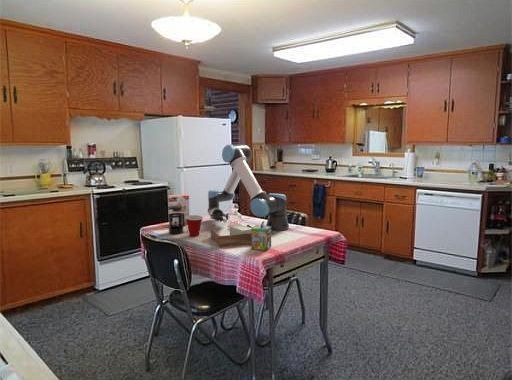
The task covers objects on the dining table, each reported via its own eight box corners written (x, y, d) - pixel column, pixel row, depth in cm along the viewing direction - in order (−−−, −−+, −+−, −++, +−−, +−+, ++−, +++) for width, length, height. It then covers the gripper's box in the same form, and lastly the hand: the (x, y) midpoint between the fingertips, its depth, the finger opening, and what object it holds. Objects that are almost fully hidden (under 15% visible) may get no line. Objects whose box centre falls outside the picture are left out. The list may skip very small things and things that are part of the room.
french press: (173, 235, 227) (172, 199, 224) (164, 233, 233) (163, 197, 230) (188, 231, 236) (187, 196, 232) (179, 229, 242) (178, 195, 238)
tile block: (229, 239, 218) (229, 226, 217) (239, 237, 222) (239, 224, 221) (243, 244, 207) (243, 230, 206) (253, 242, 211) (253, 228, 210)
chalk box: (255, 244, 205) (255, 219, 203) (271, 246, 202) (271, 219, 200) (250, 249, 196) (250, 222, 194) (267, 251, 193) (267, 223, 191)
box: (210, 237, 221) (210, 227, 220) (248, 233, 229) (248, 224, 228) (219, 247, 201) (219, 236, 200) (260, 242, 209) (260, 232, 208)
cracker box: (169, 226, 251) (168, 196, 249) (169, 224, 257) (168, 195, 254) (190, 225, 255) (188, 195, 252) (189, 223, 260) (188, 194, 258)
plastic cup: (196, 238, 219) (195, 219, 217) (182, 236, 224) (181, 217, 222) (207, 234, 228) (206, 215, 226) (193, 232, 233) (192, 214, 232)
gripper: (226, 218, 258) (235, 225, 236) (208, 220, 254) (215, 227, 232) (225, 208, 257) (235, 213, 235) (207, 209, 253) (215, 215, 231)
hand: (225, 220), depth 233 cm, fingers closed
